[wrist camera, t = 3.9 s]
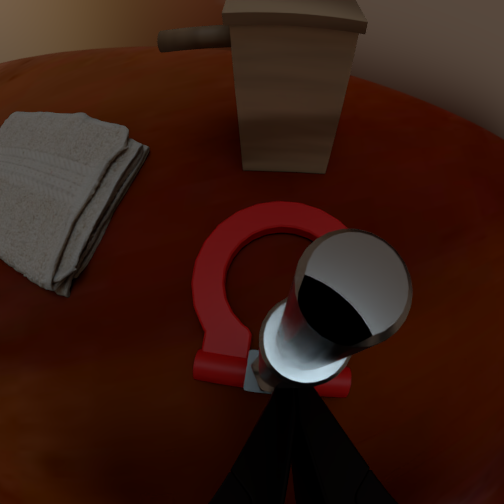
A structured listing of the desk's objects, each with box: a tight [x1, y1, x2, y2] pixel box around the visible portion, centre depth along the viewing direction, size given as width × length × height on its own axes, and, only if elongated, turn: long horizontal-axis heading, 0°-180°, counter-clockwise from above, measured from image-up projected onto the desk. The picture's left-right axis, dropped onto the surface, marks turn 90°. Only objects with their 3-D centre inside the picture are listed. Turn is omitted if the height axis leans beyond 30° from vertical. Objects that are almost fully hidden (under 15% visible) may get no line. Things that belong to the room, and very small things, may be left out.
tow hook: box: [191, 201, 412, 398], centre depth 10 cm, size 9×14×10 cm
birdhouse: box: [158, 0, 368, 174], centre depth 15 cm, size 5×9×11 cm, turn 87°
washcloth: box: [0, 112, 149, 297], centre depth 19 cm, size 12×18×3 cm, turn 71°
